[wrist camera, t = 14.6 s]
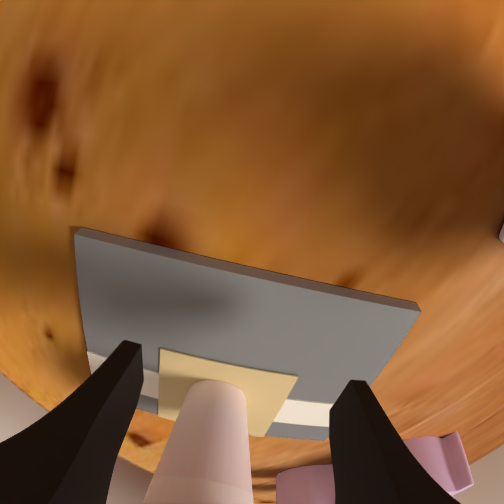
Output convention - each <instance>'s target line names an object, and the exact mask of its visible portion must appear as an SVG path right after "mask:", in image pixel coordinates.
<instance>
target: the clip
mask: <svg viewBox="0 0 504 504" xmlns="http://www.w3.org/2000/svg"><path fill="white" fill-rule="evenodd" d="M403 442H404V443H405V445H406V446H407V447H408V449H409V450H410V452H411V453H412V454H413V456H414V457H415V458H416V460H417V461H418V462H419V463H420V464H421V466H422V467H423V468H424V469H425V470H426V471H427V473H428V474H429V475H430V476H431V477H432V478H433V479H434V480H435V481H436V482H437V483H438V484H439V485H440V486H441V487H442V488H443V489H444V490H445V491H446V492H447V493H448V494H450V495H451V496H452V497H453V498H454V499H455V496H454V494H457V493H459V492H461V491H463V490H465V489H467V488H468V487H470V486H472V485H474V481H473V478H472V474H471V471H470V468H469V464H468V461H467V458H466V455H465V451H464V448H463V445H462V442H461V439H460V436H459V433H458V432H453V433H451V434H450V435H448V436H446V437H445V438H438V437H433V436H426V437H417V438H411V439H406V440H403ZM276 504H335V483H334V474H333V465H332V464H328V465H310V466H302V467H297V468H292V469H289V470H286V471H283V472H281V473H279V474H277V475H276Z"/></svg>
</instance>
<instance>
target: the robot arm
mask: <svg viewBox="0 0 504 504" xmlns="http://www.w3.org/2000/svg"><path fill="white" fill-rule="evenodd" d="M499 238H500V241H502V242H503V243H504V225H503V227H502V229H501V231H500V235H499ZM143 382H144V373H143V358H142V344H139V343H135V342H132V341H128V340H123V341H122V342H121V343H120V344H119V345H118V346H117V348H116V349H115V350H114V351H113V352H112V353H111V354H110V356H109V357H108V358H107V359H106V360H105V361H104V362H103V363H102V364H101V365H100V366H99V367H98V369H97V370H96V371H95V372H94V373H93V374H92V375H91V376H90V377H89V378H88V379H87V380H86V381H85V382H84V383H83V384H81V385H80V386H79V387H78V388H77V389H76V390H75V391H74V392H73V393H72V394H71V395H69V396H68V397H67V398H66V399H65V400H64V401H63V402H61V403H60V404H59V405H58V406H57V407H55V408H54V409H53V410H52V411H50V412H49V413H48V414H46V415H45V416H44V417H42V418H41V419H40V420H38V421H36V422H35V423H34V424H32V425H31V426H29V427H28V428H26V429H24V430H23V431H21V432H19V433H18V434H16V435H14V436H12V437H10V438H9V439H7V440H5V441H3V442H1V443H0V504H106V500H107V495H108V490H109V485H110V481H111V477H112V473H113V468H114V465H115V461H116V459H117V455H118V453H119V450H120V448H121V445H122V442H123V440H124V437H125V435H126V432H127V430H128V427H129V425H130V422H131V420H132V417H133V415H134V412H135V409H136V407H137V404H138V400H139V397H140V393H141V390H142V386H143ZM329 439H330V448H331V457H332V465H333V474H334V483H335V504H460V503H459V502H458V501H457V500H456V499H454V498H453V497H452V496H451V495H450V494H448V493H447V492H446V491H445V490H444V489H443V488H442V487H441V486H440V485H439V484H438V483H437V482H436V481H435V480H434V479H433V478H432V477H431V476H430V475H429V474H428V473H427V471H426V470H425V469H424V468H423V467H422V466H421V464H420V463H419V462H418V461H417V460H416V458H415V457H414V456H413V454H412V453H411V452H410V450H409V449H408V447H407V446H406V445H405V443H404V442H403V440H402V439H401V437H400V436H399V434H398V433H397V431H396V430H395V428H394V427H393V425H392V424H391V422H390V420H389V419H388V417H387V415H386V414H385V412H384V410H383V409H382V407H381V405H380V404H379V402H378V400H377V399H376V397H375V395H374V394H373V392H372V390H371V389H370V387H369V385H368V384H367V382H366V381H364V380H350V381H349V382H348V384H347V385H346V387H345V388H344V390H343V391H342V393H341V394H340V396H339V397H338V399H337V400H336V402H335V403H334V405H333V406H332V407H331V409H330V410H329Z"/></svg>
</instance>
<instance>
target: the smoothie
mask: <svg viewBox="0 0 504 504" xmlns="http://www.w3.org/2000/svg"><path fill="white" fill-rule="evenodd" d="M143 504H253V493H252V480H251V467H250V453H249V439H248V425H247V410H246V397H245V395H244V393H243V392H242V391H241V390H240V389H239V388H237V387H236V386H234V385H232V384H229V383H226V382H223V381H217V380H204V381H199V382H196V383H194V384H193V385H191V386H190V388H189V390H188V392H187V395H186V397H185V400H184V402H183V405H182V407H181V409H180V412H179V414H178V417H177V419H176V422H175V424H174V427H173V429H172V432H171V434H170V437H169V439H168V441H167V444H166V446H165V449H164V451H163V454H162V456H161V459H160V461H159V464H158V466H157V469H156V471H155V474H154V476H153V479H152V480H151V483H150V486H149V488H148V491H147V494H146V496H145V499H144V502H143Z"/></svg>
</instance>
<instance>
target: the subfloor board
mask: <svg viewBox="0 0 504 504" xmlns="http://www.w3.org/2000/svg"><path fill="white" fill-rule="evenodd" d="M74 246H75V261H76V273H77V283H78V292H79V300H80V308H81V315H82V322H83V328H84V334H85V340H86V346H87V355H88V360H89V365H90V370H91V374H93V373H94V372H95V371H96V370H97V369H98V367H99V366H100V365H101V364H102V363H103V362H104V361H105V360H106V359H107V358H108V357H109V356H110V354H111V353H112V352H113V351H114V350H115V349H116V348H117V346H118V345H119V344H120V343H121V342H122V341H123V340H128V341H132V342H135V343H139V344H142V358H143V373H144V382H143V386H142V390H141V393H140V397H139V400H138V404H137V407H136V409H139V410H143V411H146V412H150V413H154V414H157V415H158V417H161V418H165V419H169V420H173V421H176V419H177V417H178V414H179V412H180V409H181V407H182V405H183V402H184V400H185V397H186V395H187V392H188V390H189V388H190V386H191V385H193V384H194V383H196V382H199V381H204V380H217V381H223V382H226V383H229V384H232V385H234V386H236V387H237V388H239V389H240V390H241V391H242V392H243V393H244V395H245V397H246V410H247V425H248V435H251V436H258V437H264V435H265V436H273V437H282V438H292V439H304V440H318V441H324V440H325V439H326V438H327V437H328V436H329V410H330V409H331V407H332V406H333V405H334V403H335V402H336V400H337V399H338V397H339V396H340V394H341V393H342V391H343V390H344V388H345V387H346V385H347V384H348V382H349V381H350V380H364V381H366V382H367V384H368V385H369V387H370V386H371V385H372V383H373V382H374V381H375V379H376V378H377V377H378V375H379V374H380V373H381V371H382V370H383V369H384V367H385V366H386V365H387V363H388V362H389V360H390V359H391V358H392V356H393V355H394V353H395V352H396V350H397V349H398V347H399V346H400V345H401V343H402V342H403V340H404V339H405V337H406V336H407V334H408V333H409V331H410V329H411V328H412V326H413V325H414V323H415V322H416V320H417V318H418V317H419V315H420V314H421V310H420V308H419V306H418V305H417V303H415V302H410V301H405V300H400V299H396V298H391V297H386V296H381V295H377V294H372V293H367V292H363V291H358V290H353V289H348V288H344V287H339V286H335V285H330V284H325V283H321V282H316V281H312V280H307V279H303V278H298V277H293V276H289V275H284V274H280V273H275V272H271V271H267V270H262V269H258V268H253V267H249V266H244V265H240V264H236V263H231V262H227V261H222V260H218V259H214V258H209V257H205V256H201V255H196V254H192V253H188V252H184V251H179V250H175V249H171V248H167V247H162V246H158V245H154V244H150V243H146V242H141V241H137V240H133V239H129V238H125V237H121V236H116V235H112V234H108V233H104V232H100V231H96V230H92V229H88V228H84V227H81V228H80V229H79V230H78V231H77V232H76V233H74Z"/></svg>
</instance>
